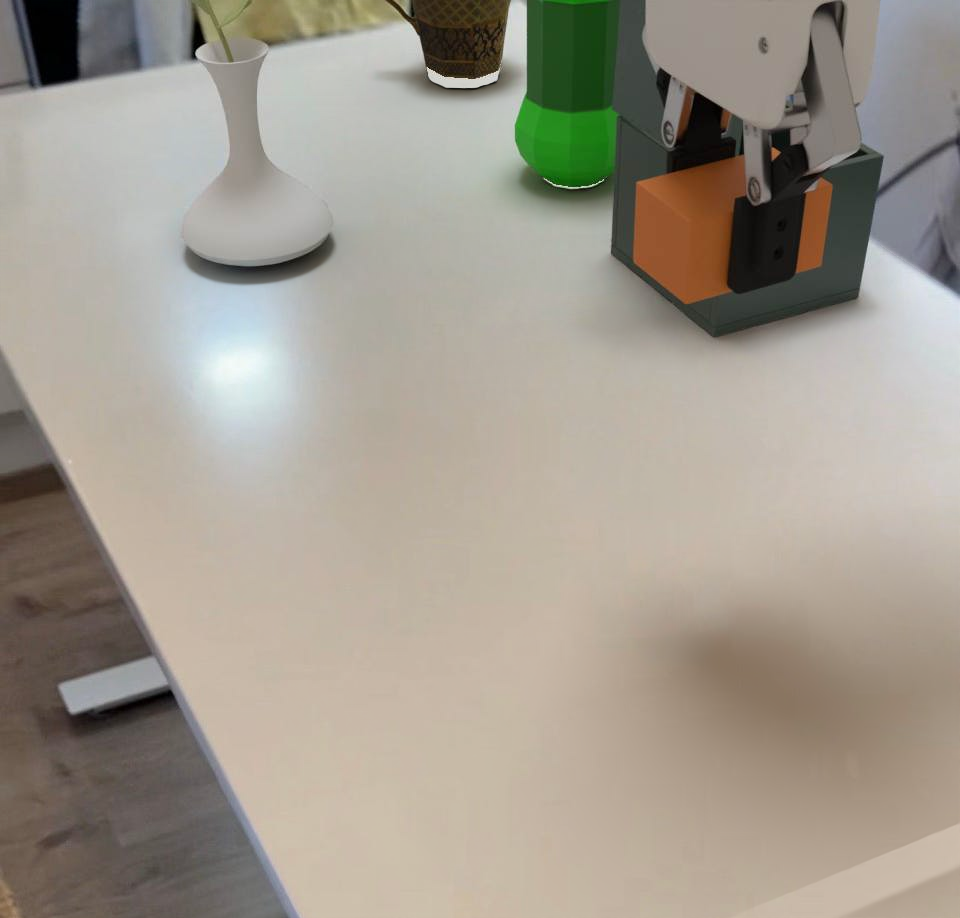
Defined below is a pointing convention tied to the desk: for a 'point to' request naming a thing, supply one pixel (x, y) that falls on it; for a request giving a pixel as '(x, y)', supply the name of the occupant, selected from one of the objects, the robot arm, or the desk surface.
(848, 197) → the bin
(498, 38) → the ceramic cup
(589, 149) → the plastic bottle
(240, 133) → the flower in vase
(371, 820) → the desk surface
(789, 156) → the robot arm
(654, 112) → the bin lid
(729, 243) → the block
